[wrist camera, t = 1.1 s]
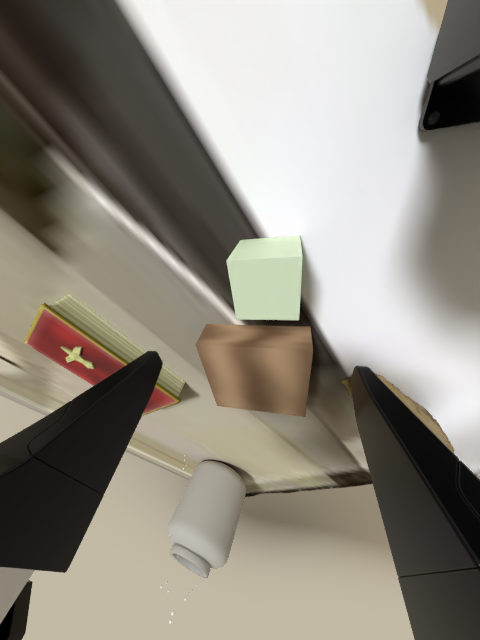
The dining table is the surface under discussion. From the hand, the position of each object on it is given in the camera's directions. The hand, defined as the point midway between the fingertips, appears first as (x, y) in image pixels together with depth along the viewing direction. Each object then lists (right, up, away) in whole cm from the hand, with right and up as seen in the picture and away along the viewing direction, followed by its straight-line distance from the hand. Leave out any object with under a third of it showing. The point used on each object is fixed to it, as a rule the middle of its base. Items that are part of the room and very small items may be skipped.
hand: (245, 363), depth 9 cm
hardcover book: (-20, -4, +24) cm, 31 cm away
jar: (-7, -38, +47) cm, 61 cm away
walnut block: (+2, -3, +18) cm, 18 cm away
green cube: (+3, +7, +9) cm, 12 cm away
